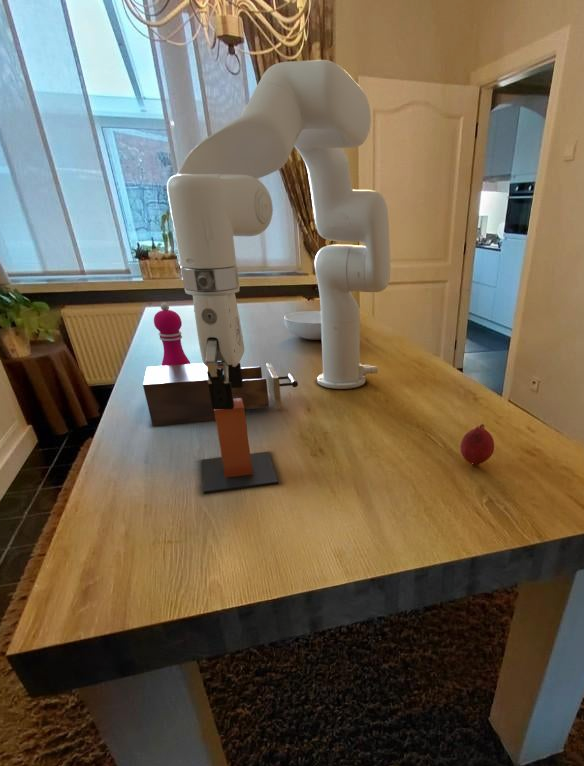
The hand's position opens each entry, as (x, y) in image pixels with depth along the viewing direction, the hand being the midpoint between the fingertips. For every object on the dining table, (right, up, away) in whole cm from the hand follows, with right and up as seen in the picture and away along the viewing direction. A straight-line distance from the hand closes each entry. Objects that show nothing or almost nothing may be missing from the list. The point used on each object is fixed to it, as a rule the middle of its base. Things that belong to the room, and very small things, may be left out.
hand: (228, 397), depth 79 cm
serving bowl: (+4, +42, +91) cm, 101 cm away
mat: (0, -11, +7) cm, 13 cm away
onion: (+42, -10, +10) cm, 44 cm away
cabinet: (-17, +4, +31) cm, 35 cm away
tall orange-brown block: (0, -11, +7) cm, 13 cm away
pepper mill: (-24, +12, +44) cm, 52 cm away
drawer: (-3, +7, +34) cm, 35 cm away
